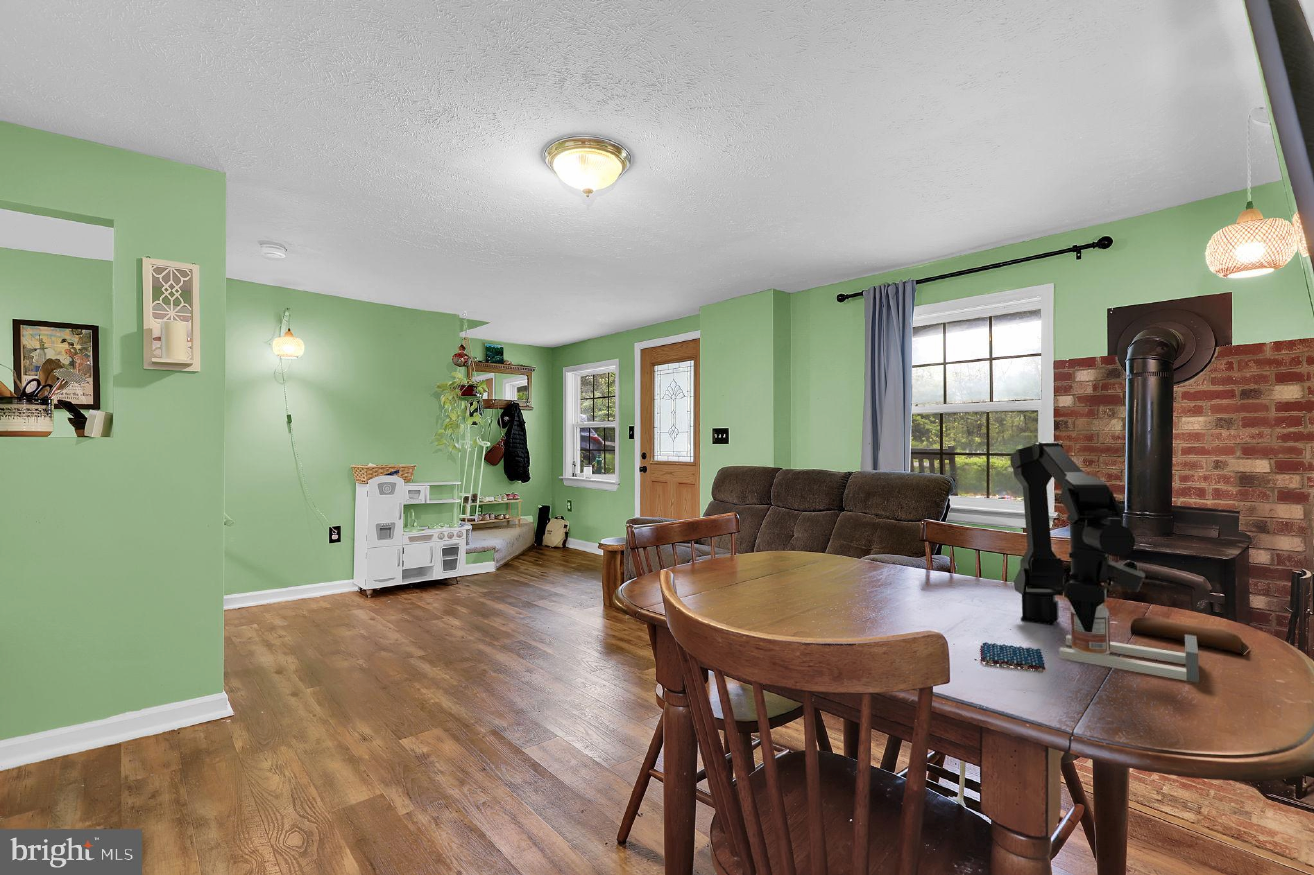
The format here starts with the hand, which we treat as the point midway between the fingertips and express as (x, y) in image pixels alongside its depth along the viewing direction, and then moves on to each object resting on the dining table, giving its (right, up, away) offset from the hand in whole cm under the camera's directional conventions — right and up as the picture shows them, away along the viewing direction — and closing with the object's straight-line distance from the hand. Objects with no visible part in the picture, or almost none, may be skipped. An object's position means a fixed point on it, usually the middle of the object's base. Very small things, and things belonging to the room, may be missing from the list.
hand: (1090, 627), depth 118 cm
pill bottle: (0, -5, 0) cm, 5 cm away
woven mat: (-16, -6, -2) cm, 18 cm away
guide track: (+4, -5, -4) cm, 8 cm away
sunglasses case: (+25, -5, +7) cm, 27 cm away
